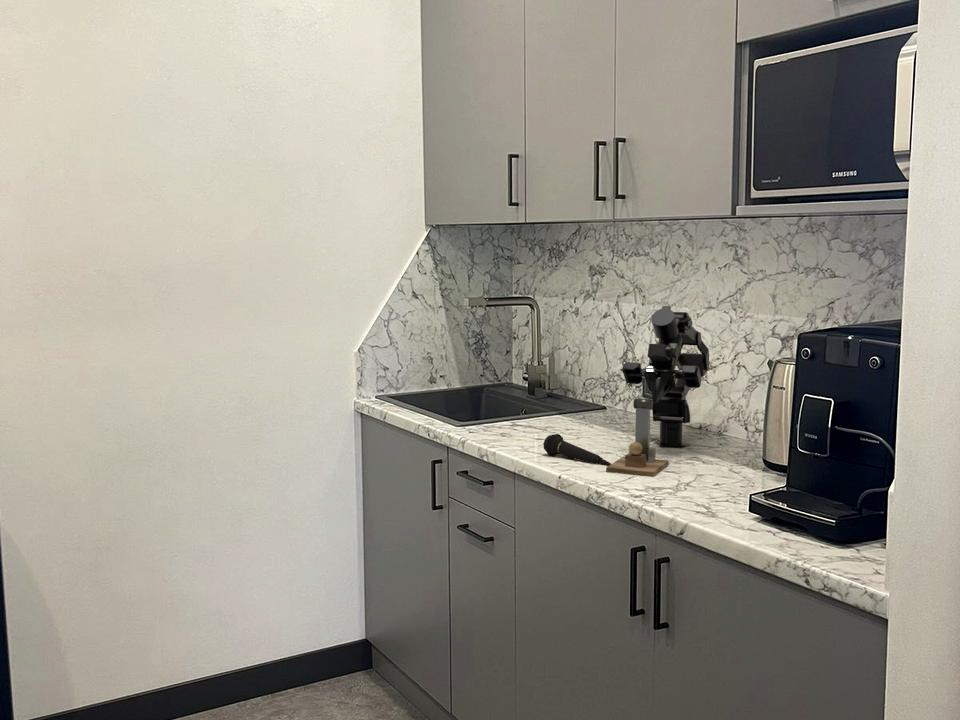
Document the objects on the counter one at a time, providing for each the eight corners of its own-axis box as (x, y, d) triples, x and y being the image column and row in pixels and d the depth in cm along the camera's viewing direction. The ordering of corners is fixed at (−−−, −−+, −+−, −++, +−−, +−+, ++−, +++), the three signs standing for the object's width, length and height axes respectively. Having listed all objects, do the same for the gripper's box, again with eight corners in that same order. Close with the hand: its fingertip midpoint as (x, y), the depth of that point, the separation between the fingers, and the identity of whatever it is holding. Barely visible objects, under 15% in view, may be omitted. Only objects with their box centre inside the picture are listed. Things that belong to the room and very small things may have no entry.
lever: (635, 457, 230) (636, 397, 228) (652, 459, 228) (653, 398, 226) (632, 459, 228) (633, 399, 226) (649, 461, 226) (650, 400, 224)
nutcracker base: (623, 460, 233) (623, 433, 232) (668, 464, 228) (669, 437, 227) (606, 471, 221) (606, 443, 221) (653, 476, 217) (653, 448, 216)
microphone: (613, 478, 229) (549, 454, 243) (620, 454, 229) (555, 432, 243) (600, 474, 225) (536, 451, 238) (608, 451, 225) (543, 429, 239)
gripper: (625, 329, 242) (610, 379, 233) (699, 332, 234) (687, 384, 225) (633, 358, 250) (619, 406, 241) (706, 361, 242) (694, 412, 233)
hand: (654, 402), depth 235 cm, fingers closed
